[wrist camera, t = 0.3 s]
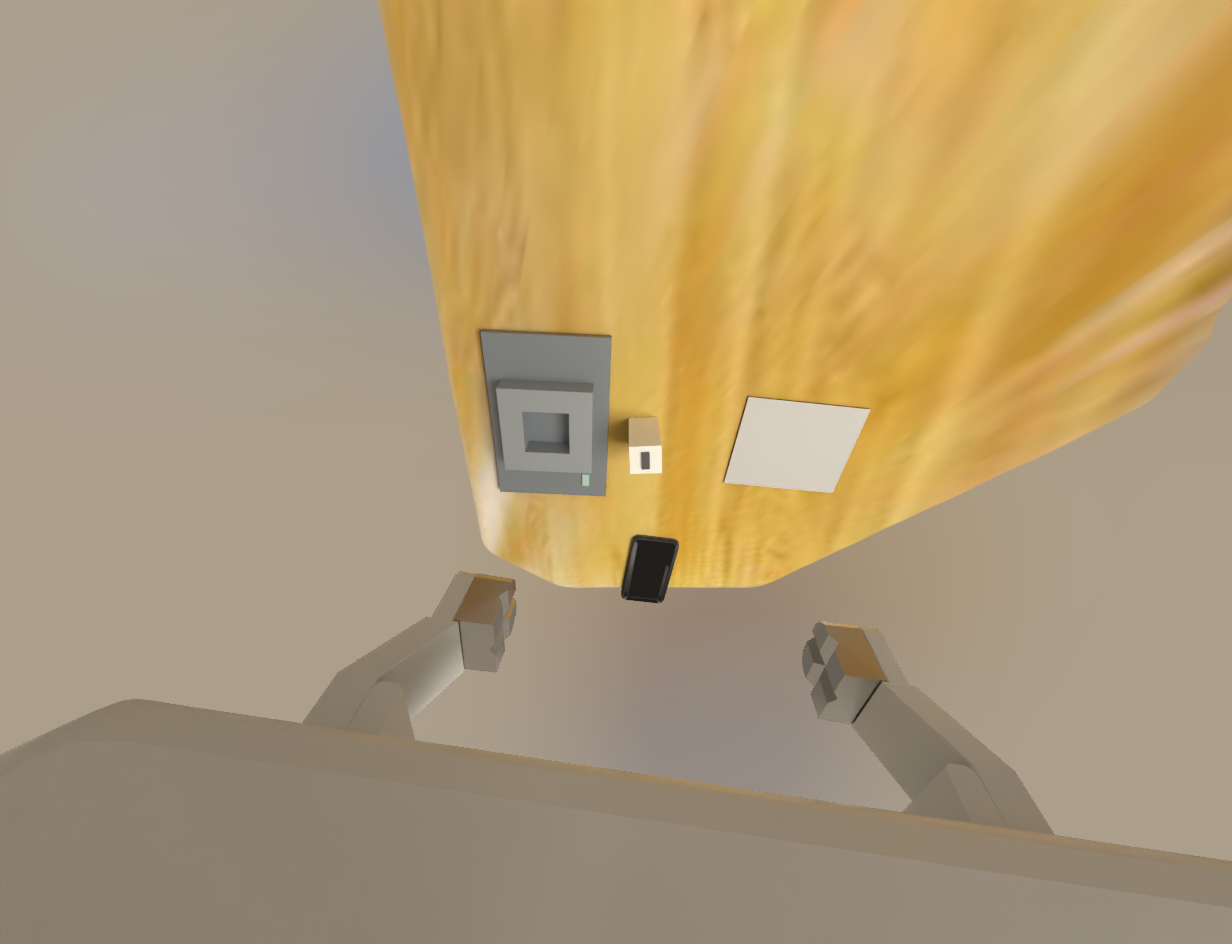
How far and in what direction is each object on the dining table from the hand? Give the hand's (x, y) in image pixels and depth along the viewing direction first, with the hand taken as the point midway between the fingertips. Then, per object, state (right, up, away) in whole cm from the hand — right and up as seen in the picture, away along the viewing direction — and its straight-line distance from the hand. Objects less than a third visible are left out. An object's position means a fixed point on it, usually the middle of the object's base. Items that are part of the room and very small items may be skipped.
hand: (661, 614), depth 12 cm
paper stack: (+19, +4, +54) cm, 58 cm away
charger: (+3, +10, +50) cm, 51 cm away
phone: (+5, -13, +65) cm, 67 cm away
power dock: (-10, +11, +50) cm, 52 cm away
